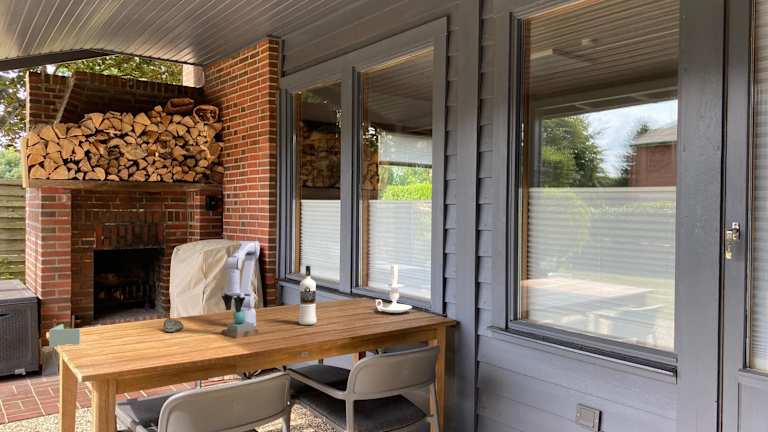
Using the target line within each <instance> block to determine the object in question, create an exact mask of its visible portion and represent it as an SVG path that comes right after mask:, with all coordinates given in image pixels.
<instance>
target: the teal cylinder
mask: <svg viewBox="0 0 768 432" xmlns="http://www.w3.org/2000/svg"><path fill="white" fill-rule="evenodd" d="M232 314H233V315H232V316H233V322H235V324H237V323H242V322H245V318H244V312H243V311H240V312H236V311H235V312H232Z"/></svg>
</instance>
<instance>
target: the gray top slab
mask: <svg viewBox="0 0 768 432" xmlns="http://www.w3.org/2000/svg"><path fill="white" fill-rule="evenodd" d="M226 329H227V330H230V331H233V332H237V333H239V332H245V331H250V330H254V329H255V326H254V323H250V322H246V321H245V322H242V323H237V324H235V322H234V321H233V322H229V323H226Z"/></svg>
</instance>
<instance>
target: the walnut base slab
mask: <svg viewBox="0 0 768 432" xmlns="http://www.w3.org/2000/svg"><path fill="white" fill-rule="evenodd" d="M221 335H222V336H225V337H226V336H227V337H230V338H235V339H240V338H245V337H249V336H255V335H259V329H256V328H254V330H250V331H245V332H239V333H237V332H233V331H230V330H227V328H226V329H225V328H224V329H221Z"/></svg>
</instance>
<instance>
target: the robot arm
mask: <svg viewBox="0 0 768 432" xmlns="http://www.w3.org/2000/svg"><path fill="white" fill-rule="evenodd" d="M237 249H238V250H237ZM237 249H236V250H235V251H234V252H233V254H232V255H231V257H228V258H226V260H225V270H226V271H225V272H226V274H227V275H226V278H227V281H226V284H227V285H226V287H227V288H226V289H225V290H222V296H221V299H222V301H223V303H224V307H225V310H226V311H231V310H232V307H233V308H234V310H235V312H240V311H243V312H244V318H245V321H246V322H250V323H254V327H257V326H258V325H257V312H256V309H255V308H254V306H255V298H256V297H255V293H254V292H253V291H252V290H251V286H252V285H251V284H252V279H253V273H254V266H255V261H256V260H257V259H259V255H260V249H261V246H260V242H259V241H258V240H256V241H255V240H254V241H253V240H252V241H251V240H240V241H239V242H238V248H237ZM243 262H244V266H243ZM242 266H243V271H242V277H241V276H240V274H241V272H240V271H241V269H242ZM240 280H241V281H240ZM240 282H241V283H240Z"/></svg>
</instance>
